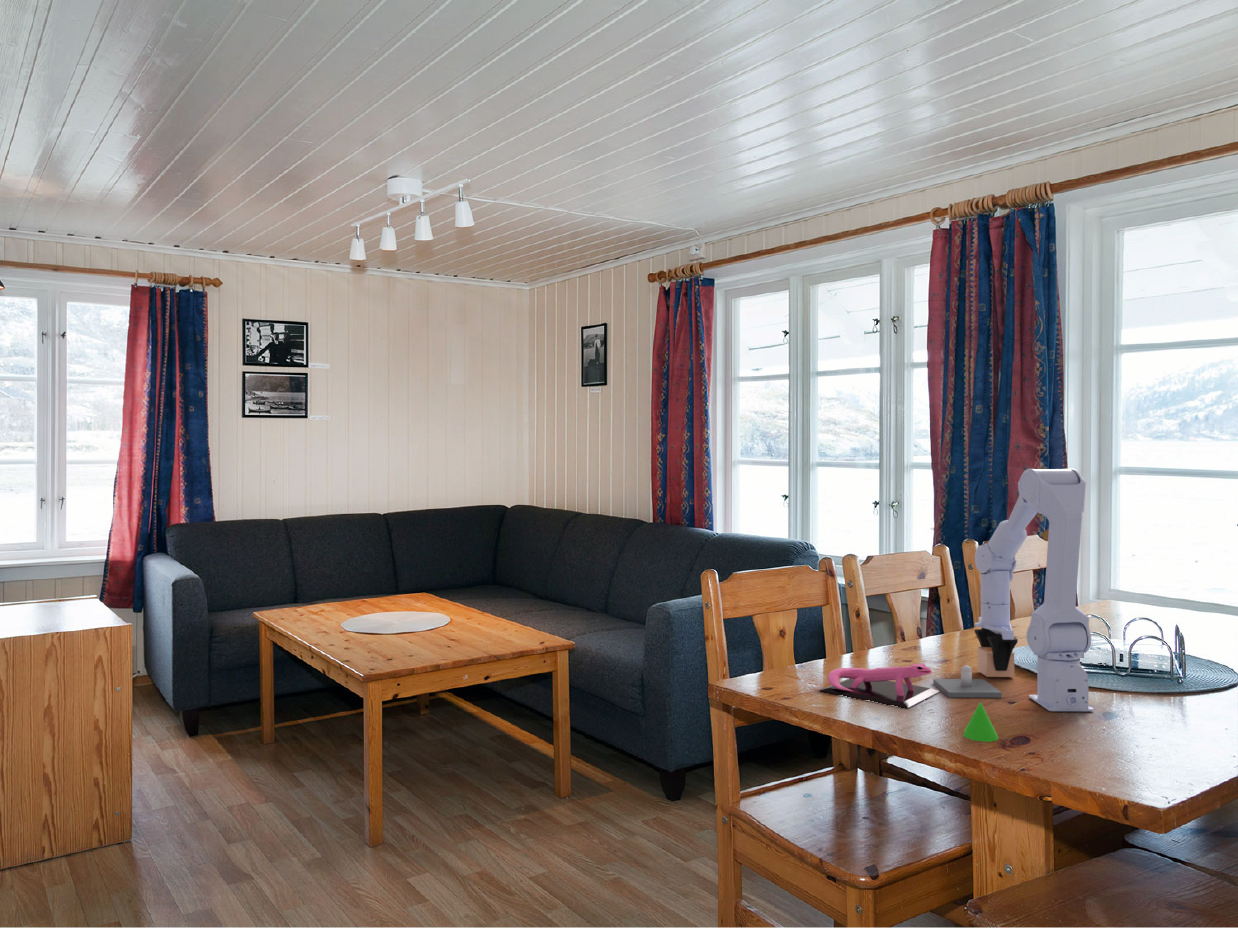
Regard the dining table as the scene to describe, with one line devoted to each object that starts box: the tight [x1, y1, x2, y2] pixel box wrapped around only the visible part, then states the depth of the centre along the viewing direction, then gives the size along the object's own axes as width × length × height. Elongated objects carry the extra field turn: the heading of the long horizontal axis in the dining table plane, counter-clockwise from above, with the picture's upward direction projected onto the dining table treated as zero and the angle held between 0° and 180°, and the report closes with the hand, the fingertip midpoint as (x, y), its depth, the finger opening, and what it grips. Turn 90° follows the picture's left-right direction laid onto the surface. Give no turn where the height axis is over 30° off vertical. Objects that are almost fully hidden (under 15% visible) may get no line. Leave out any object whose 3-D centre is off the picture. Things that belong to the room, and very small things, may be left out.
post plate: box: [932, 664, 1003, 699], centre depth 178 cm, size 10×10×5 cm
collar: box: [976, 646, 1015, 678], centre depth 190 cm, size 6×6×5 cm
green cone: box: [962, 701, 999, 743], centre depth 151 cm, size 6×6×6 cm
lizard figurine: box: [819, 662, 941, 710], centre depth 177 cm, size 15×20×7 cm
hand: (995, 666), depth 190 cm, fingers closed on collar, 6 cm apart
